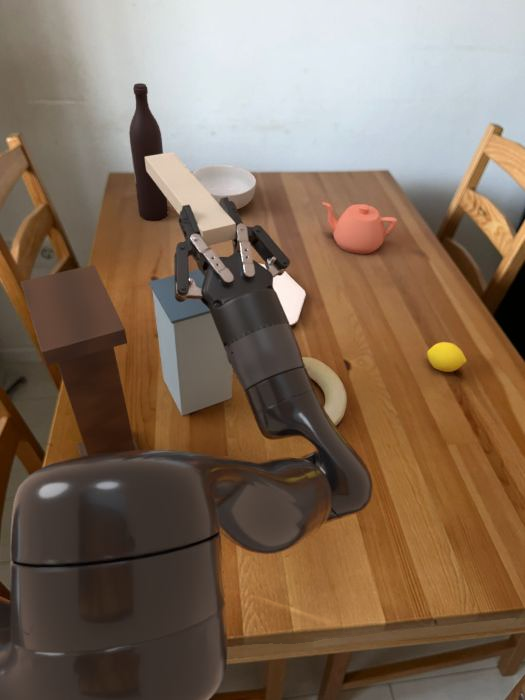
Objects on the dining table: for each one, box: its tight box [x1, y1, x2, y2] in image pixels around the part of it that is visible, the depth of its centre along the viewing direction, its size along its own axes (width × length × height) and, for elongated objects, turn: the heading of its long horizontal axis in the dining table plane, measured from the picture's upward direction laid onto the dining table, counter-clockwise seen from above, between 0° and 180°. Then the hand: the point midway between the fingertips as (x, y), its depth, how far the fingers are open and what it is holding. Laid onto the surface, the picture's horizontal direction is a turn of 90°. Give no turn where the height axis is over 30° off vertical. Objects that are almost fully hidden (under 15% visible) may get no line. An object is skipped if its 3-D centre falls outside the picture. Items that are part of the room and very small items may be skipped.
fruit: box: [302, 356, 348, 427], centre depth 87 cm, size 7×15×3 cm, turn 9°
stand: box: [20, 264, 139, 457], centre depth 65 cm, size 8×12×32 cm, turn 27°
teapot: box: [321, 201, 399, 255], centre depth 121 cm, size 12×18×10 cm
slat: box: [145, 151, 236, 247], centre depth 63 cm, size 4×20×2 cm, turn 27°
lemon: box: [426, 341, 467, 373], centre depth 93 cm, size 7×5×5 cm
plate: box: [259, 263, 307, 327], centre depth 105 cm, size 24×24×2 cm
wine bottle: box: [128, 82, 169, 221], centre depth 118 cm, size 7×7×30 cm
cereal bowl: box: [191, 164, 257, 210], centre depth 131 cm, size 17×17×7 cm
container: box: [148, 268, 233, 417], centre depth 81 cm, size 10×10×21 cm
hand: (203, 205), depth 58 cm, fingers closed on slat, 4 cm apart
